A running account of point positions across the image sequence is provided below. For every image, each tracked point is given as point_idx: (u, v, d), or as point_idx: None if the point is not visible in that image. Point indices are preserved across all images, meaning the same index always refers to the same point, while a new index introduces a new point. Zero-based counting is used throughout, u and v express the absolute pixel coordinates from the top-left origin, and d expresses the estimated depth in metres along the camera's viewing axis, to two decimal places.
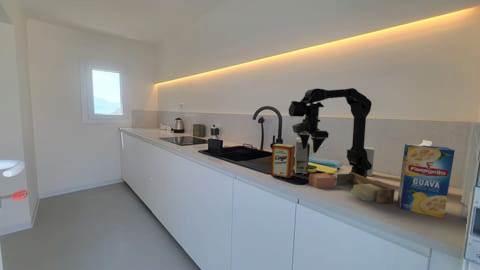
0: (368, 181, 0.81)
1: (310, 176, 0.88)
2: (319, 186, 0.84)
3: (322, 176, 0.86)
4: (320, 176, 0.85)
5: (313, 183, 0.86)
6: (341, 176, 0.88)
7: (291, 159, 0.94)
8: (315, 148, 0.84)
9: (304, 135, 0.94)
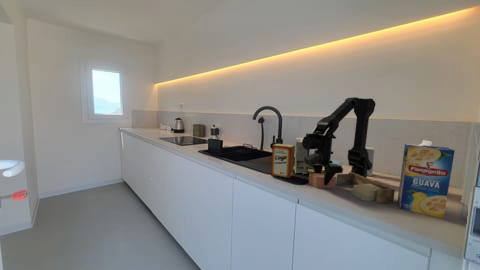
0: (368, 181, 0.81)
1: (310, 176, 0.88)
2: (319, 186, 0.84)
3: (322, 175, 0.86)
4: (320, 176, 0.85)
5: (313, 182, 0.86)
6: (341, 176, 0.88)
7: (291, 159, 0.94)
8: (326, 181, 0.83)
9: (317, 166, 0.91)
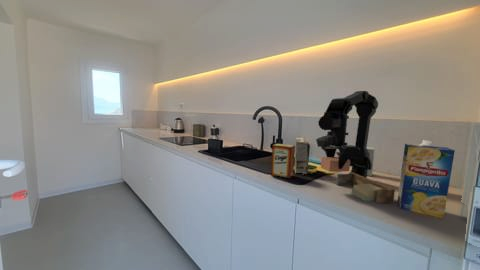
0: (368, 181, 0.81)
1: (322, 159, 0.82)
2: (333, 169, 0.78)
3: (336, 159, 0.80)
4: (334, 159, 0.79)
5: (326, 166, 0.79)
6: (341, 176, 0.88)
7: (291, 159, 0.94)
8: (341, 164, 0.77)
9: (330, 149, 0.84)
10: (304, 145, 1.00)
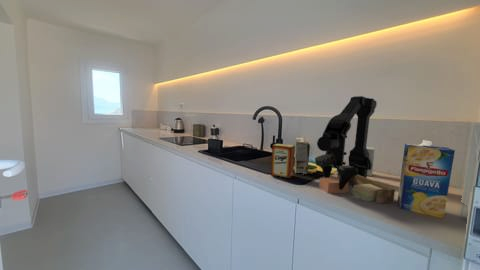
0: (368, 181, 0.81)
1: (321, 180, 0.83)
2: (331, 191, 0.79)
3: (334, 180, 0.81)
4: (332, 181, 0.80)
5: (324, 188, 0.80)
6: None
7: (291, 159, 0.94)
8: (342, 185, 0.76)
9: (327, 166, 0.86)
10: (304, 145, 1.00)
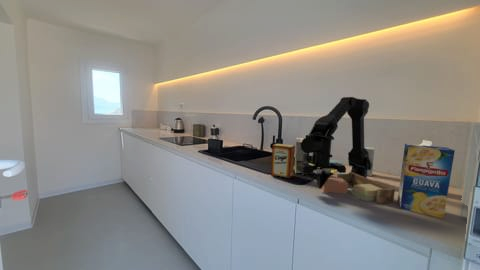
0: (368, 181, 0.81)
1: None
2: (328, 190, 0.80)
3: (333, 180, 0.81)
4: (331, 180, 0.80)
5: None
6: (341, 176, 0.88)
7: (291, 159, 0.94)
8: (317, 183, 0.80)
9: (322, 172, 0.79)
10: None
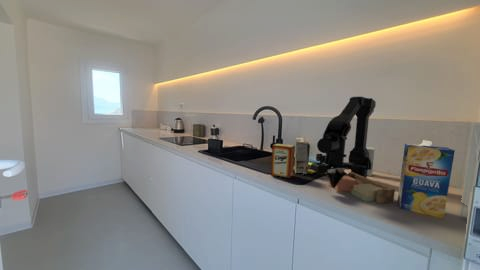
0: (368, 181, 0.81)
1: None
2: (341, 189, 0.81)
3: (343, 178, 0.83)
4: (342, 179, 0.82)
5: None
6: None
7: (291, 159, 0.94)
8: (331, 182, 0.81)
9: (336, 172, 0.80)
10: (304, 145, 1.00)
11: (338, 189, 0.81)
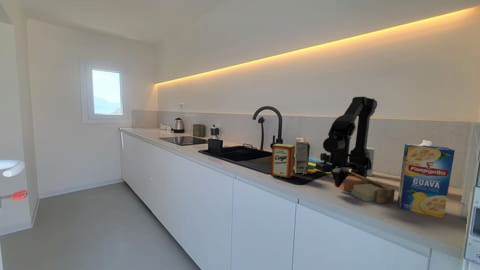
0: (368, 181, 0.81)
1: None
2: (347, 189, 0.81)
3: (349, 179, 0.84)
4: (347, 179, 0.83)
5: (340, 186, 0.83)
6: None
7: (291, 159, 0.94)
8: (335, 181, 0.81)
9: (340, 171, 0.80)
10: (304, 145, 1.00)
11: (344, 189, 0.81)
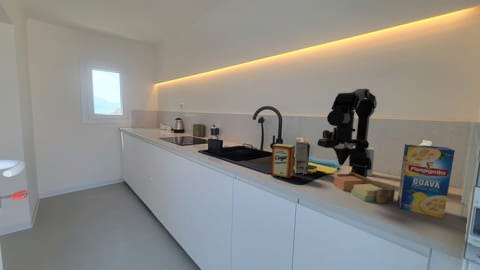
0: (368, 181, 0.81)
1: (336, 179, 0.86)
2: (346, 189, 0.82)
3: (349, 179, 0.84)
4: (347, 179, 0.83)
5: (340, 186, 0.83)
6: None
7: (291, 159, 0.94)
8: (338, 159, 0.77)
9: (344, 148, 0.76)
10: (304, 145, 1.00)
11: (344, 189, 0.81)
